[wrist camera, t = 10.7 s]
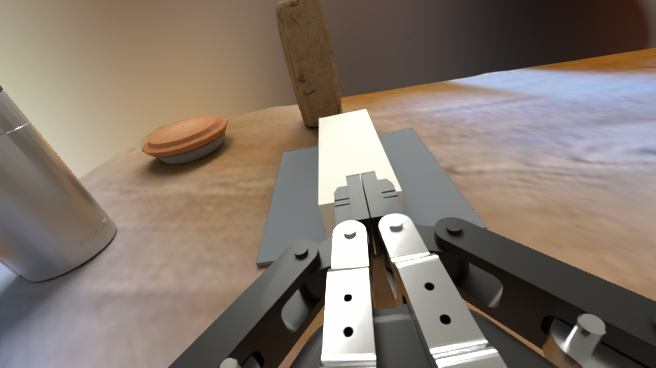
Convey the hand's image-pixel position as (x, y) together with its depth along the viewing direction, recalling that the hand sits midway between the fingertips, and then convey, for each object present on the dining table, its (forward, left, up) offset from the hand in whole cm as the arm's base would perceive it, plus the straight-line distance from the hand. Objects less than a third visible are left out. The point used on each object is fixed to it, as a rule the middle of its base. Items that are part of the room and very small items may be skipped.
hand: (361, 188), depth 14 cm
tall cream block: (0, +4, -7) cm, 8 cm away
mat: (0, +16, -10) cm, 19 cm away
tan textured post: (-4, +40, -10) cm, 41 cm away
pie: (-29, +37, -10) cm, 48 cm away
